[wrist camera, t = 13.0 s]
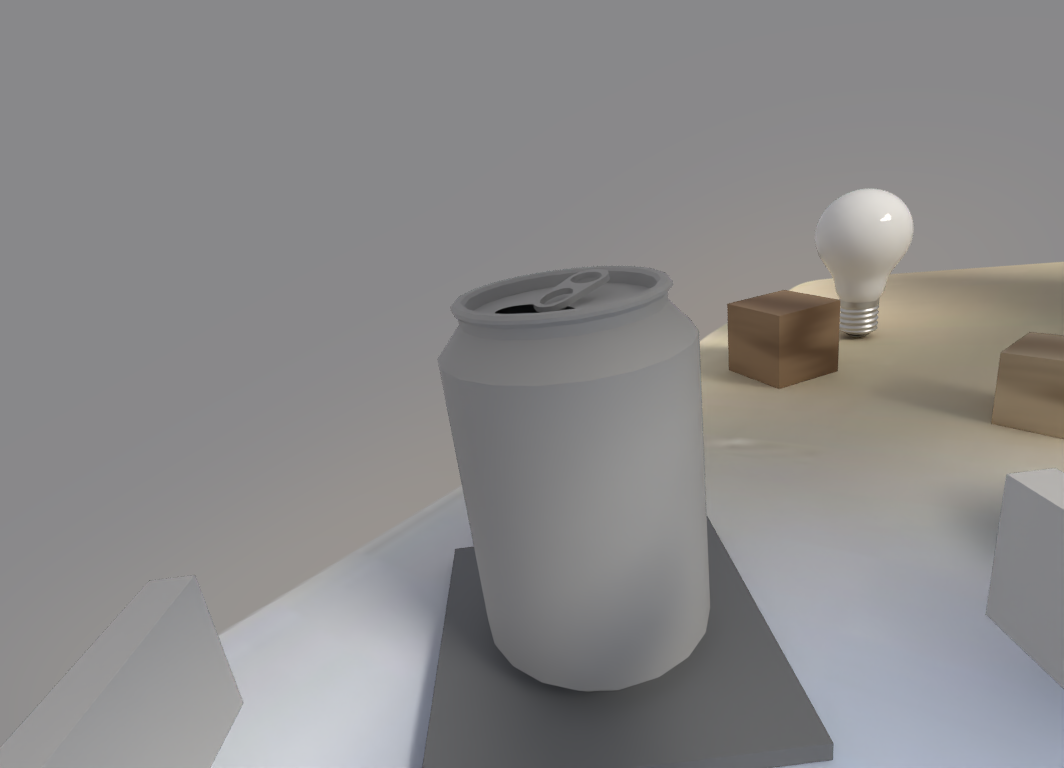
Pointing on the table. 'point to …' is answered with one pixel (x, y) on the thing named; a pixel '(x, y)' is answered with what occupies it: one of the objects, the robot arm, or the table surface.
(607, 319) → the can
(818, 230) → the lightbulb
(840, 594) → the table surface
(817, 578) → the table surface
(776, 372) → the walnut block
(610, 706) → the coaster
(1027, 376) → the oak block
